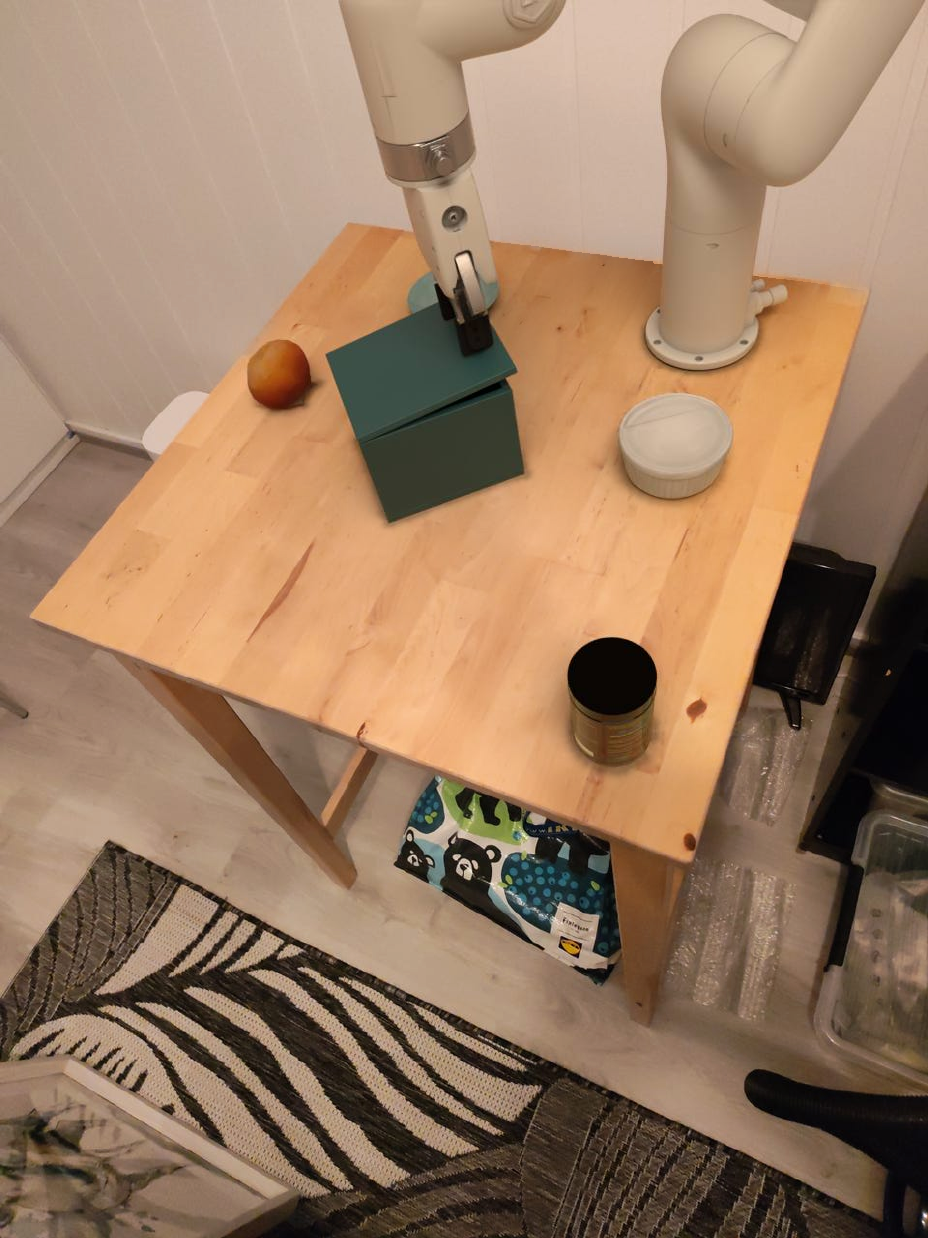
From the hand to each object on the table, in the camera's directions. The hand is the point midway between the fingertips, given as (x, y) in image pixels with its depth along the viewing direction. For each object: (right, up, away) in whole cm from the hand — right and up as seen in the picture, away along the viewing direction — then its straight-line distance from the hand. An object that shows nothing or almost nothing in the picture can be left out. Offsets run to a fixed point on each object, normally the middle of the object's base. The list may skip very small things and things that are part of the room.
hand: (467, 329), depth 78 cm
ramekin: (+21, -12, +6) cm, 25 cm away
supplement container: (+13, -38, -9) cm, 41 cm away
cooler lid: (-5, -3, +1) cm, 6 cm away
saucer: (-1, +12, +26) cm, 29 cm away
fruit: (-22, 0, +22) cm, 31 cm away
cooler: (-3, -10, +12) cm, 16 cm away
